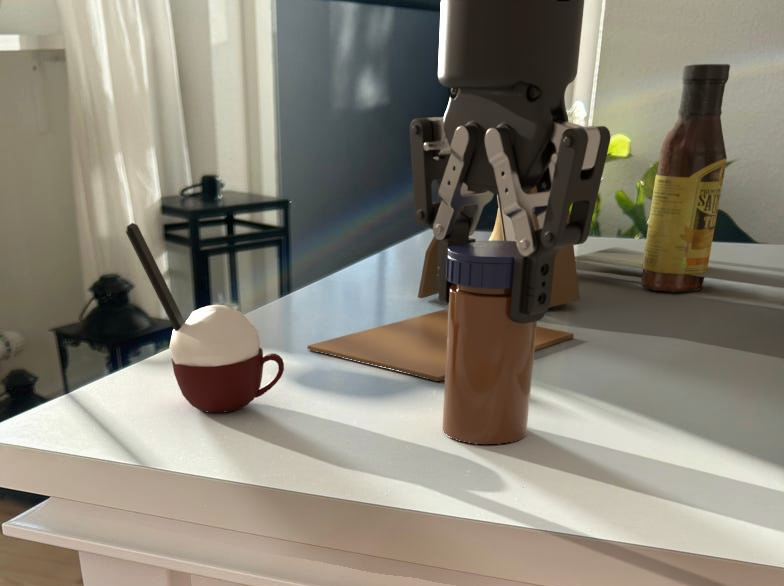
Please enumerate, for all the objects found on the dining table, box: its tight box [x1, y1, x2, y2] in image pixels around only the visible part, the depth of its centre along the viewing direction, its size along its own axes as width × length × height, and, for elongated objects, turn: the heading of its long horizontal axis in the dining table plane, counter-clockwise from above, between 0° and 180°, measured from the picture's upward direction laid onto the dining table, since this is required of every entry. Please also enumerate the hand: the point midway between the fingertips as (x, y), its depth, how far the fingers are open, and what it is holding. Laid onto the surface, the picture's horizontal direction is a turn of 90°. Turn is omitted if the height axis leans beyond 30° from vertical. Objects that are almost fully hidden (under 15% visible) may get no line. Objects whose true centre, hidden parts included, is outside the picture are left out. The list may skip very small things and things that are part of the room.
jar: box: [441, 284, 538, 445], centre depth 64 cm, size 5×5×10 cm
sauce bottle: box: [641, 63, 731, 293], centre depth 99 cm, size 6×6×20 cm
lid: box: [445, 240, 521, 289], centre depth 61 cm, size 6×6×2 cm
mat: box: [306, 308, 574, 382], centre depth 86 cm, size 18×14×1 cm
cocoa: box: [125, 222, 285, 413], centre depth 69 cm, size 10×6×12 cm, turn 60°
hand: (490, 310), depth 62 cm, fingers closed on lid, 5 cm apart
